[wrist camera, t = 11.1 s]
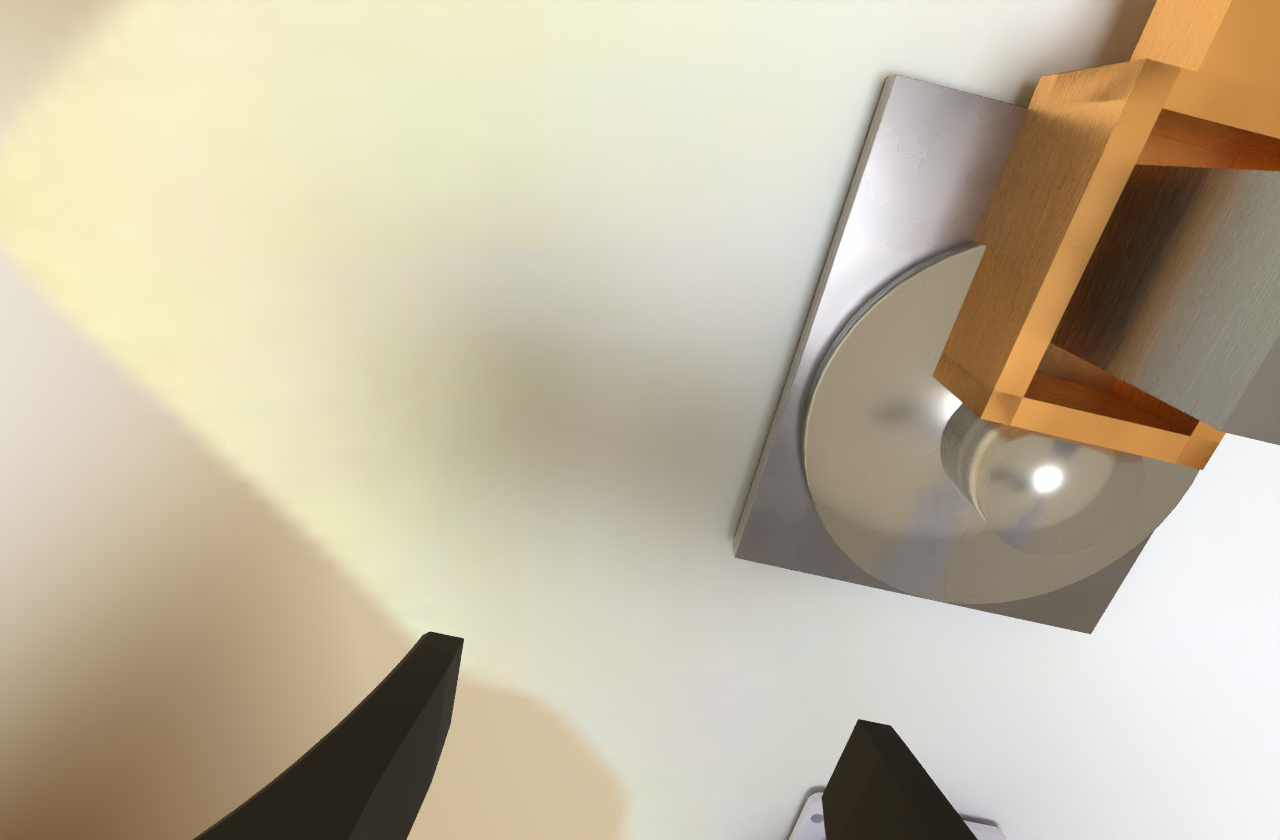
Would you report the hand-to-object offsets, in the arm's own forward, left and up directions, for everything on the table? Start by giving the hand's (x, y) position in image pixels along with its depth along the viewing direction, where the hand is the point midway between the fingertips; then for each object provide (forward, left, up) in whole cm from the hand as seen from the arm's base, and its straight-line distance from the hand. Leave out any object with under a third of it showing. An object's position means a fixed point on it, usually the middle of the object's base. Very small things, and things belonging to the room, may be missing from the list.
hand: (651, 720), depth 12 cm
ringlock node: (+9, -9, -10) cm, 16 cm away
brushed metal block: (+9, -9, -8) cm, 15 cm away
